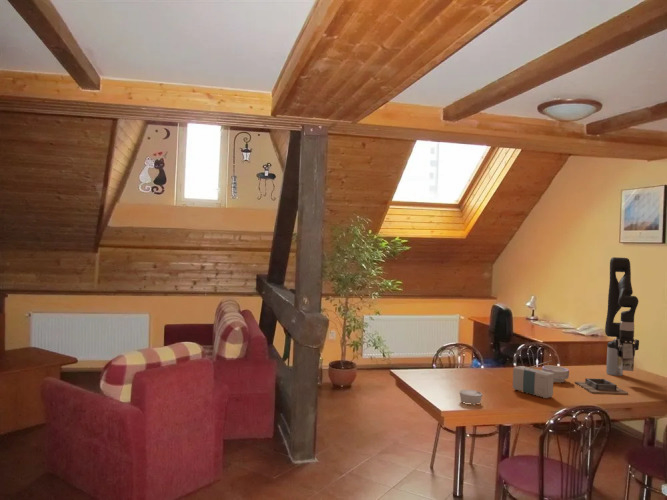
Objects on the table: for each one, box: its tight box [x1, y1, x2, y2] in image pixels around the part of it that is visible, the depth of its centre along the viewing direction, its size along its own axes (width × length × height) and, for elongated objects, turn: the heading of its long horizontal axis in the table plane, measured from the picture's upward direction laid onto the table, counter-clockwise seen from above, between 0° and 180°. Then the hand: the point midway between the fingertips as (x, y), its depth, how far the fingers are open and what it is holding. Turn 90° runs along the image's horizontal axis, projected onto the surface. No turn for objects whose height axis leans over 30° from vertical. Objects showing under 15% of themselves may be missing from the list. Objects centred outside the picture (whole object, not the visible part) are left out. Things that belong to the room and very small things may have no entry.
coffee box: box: [618, 342, 635, 372], centre depth 319 cm, size 9×6×16 cm
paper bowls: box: [541, 365, 570, 384], centre depth 323 cm, size 15×15×8 cm
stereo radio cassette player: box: [512, 359, 554, 399], centre depth 293 cm, size 21×8×20 cm, turn 37°
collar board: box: [574, 377, 629, 396], centre depth 308 cm, size 22×20×4 cm
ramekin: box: [459, 389, 483, 404], centre depth 274 cm, size 11×11×5 cm
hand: (625, 356), depth 319 cm, fingers closed on coffee box, 7 cm apart
